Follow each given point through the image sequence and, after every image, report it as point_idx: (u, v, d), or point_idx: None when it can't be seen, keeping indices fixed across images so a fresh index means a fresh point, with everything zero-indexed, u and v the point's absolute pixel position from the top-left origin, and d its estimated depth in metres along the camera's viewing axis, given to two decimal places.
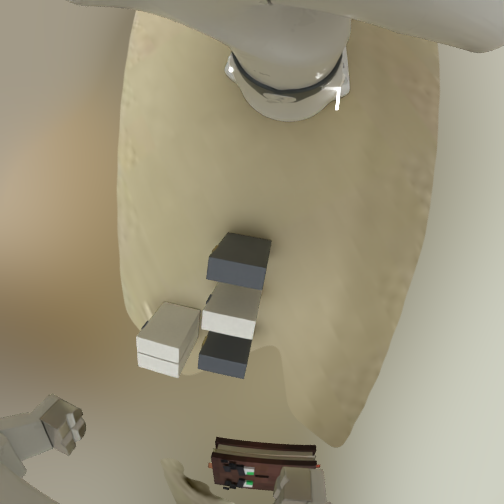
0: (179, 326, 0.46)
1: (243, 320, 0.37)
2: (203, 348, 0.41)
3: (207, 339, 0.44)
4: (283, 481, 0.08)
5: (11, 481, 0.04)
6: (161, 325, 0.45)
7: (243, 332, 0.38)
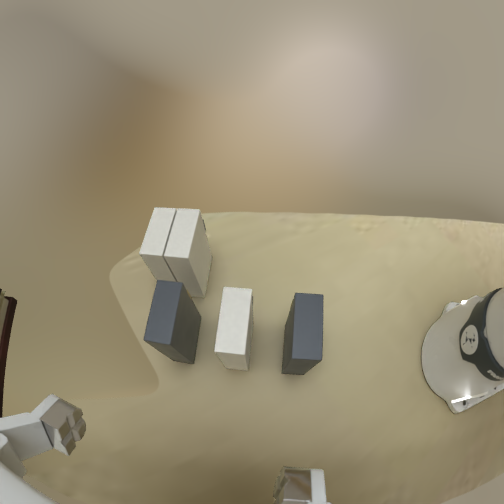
0: (199, 266, 0.38)
1: (243, 339, 0.28)
2: (185, 290, 0.32)
3: (189, 298, 0.34)
4: (283, 481, 0.08)
5: (11, 481, 0.04)
6: (202, 245, 0.39)
7: (225, 339, 0.28)
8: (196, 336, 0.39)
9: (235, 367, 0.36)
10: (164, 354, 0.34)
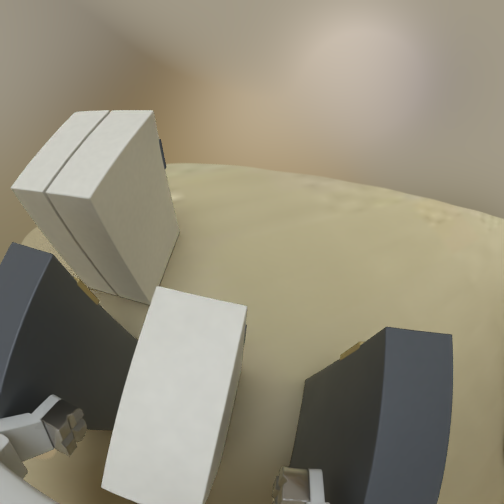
0: (137, 237, 0.17)
1: (198, 476, 0.06)
2: (66, 278, 0.11)
3: (89, 302, 0.13)
4: (282, 481, 0.08)
5: (11, 481, 0.04)
6: (150, 192, 0.17)
7: (135, 465, 0.06)
8: (122, 380, 0.17)
9: None
10: None
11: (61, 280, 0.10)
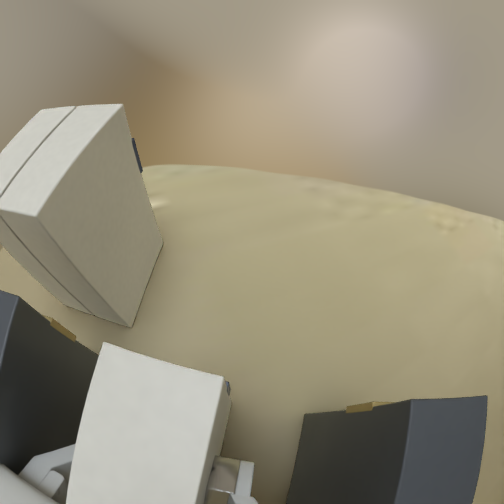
0: (106, 255, 0.14)
1: None
2: (38, 321, 0.08)
3: (66, 341, 0.10)
4: (211, 470, 0.08)
5: (11, 481, 0.04)
6: (122, 201, 0.14)
7: None
8: None
9: None
10: None
11: (32, 326, 0.07)
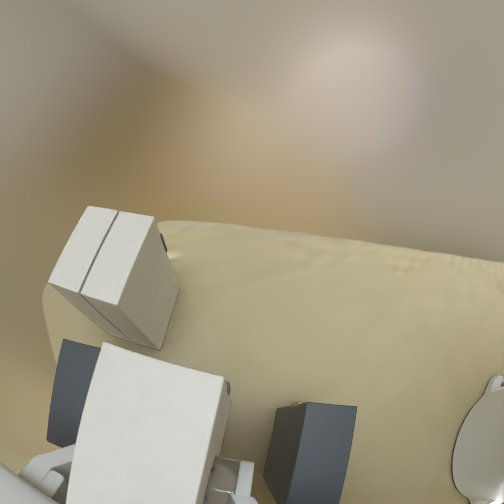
0: (148, 310, 0.22)
1: None
2: None
3: None
4: (211, 470, 0.08)
5: (11, 481, 0.04)
6: (156, 275, 0.23)
7: None
8: None
9: None
10: None
11: None
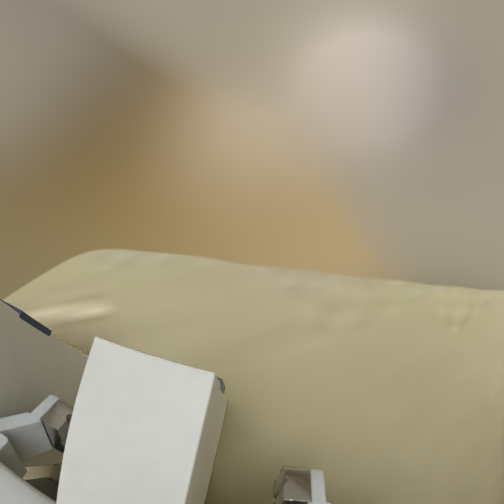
0: None
1: None
2: None
3: None
4: (283, 481, 0.08)
5: (11, 481, 0.04)
6: (33, 382, 0.09)
7: None
8: None
9: None
10: None
11: None
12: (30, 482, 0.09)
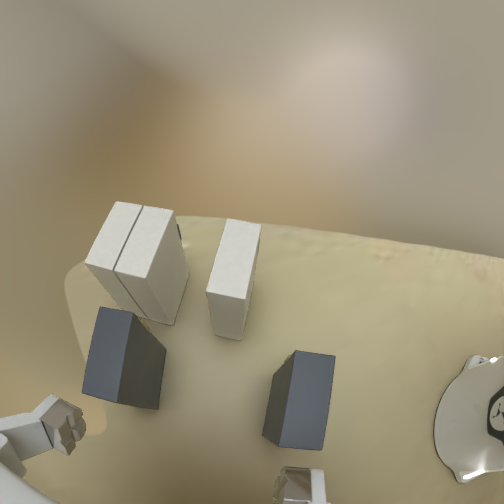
0: (166, 288, 0.28)
1: (245, 279, 0.22)
2: (138, 322, 0.21)
3: (146, 331, 0.23)
4: (283, 481, 0.08)
5: (11, 481, 0.04)
6: (173, 258, 0.28)
7: (221, 278, 0.22)
8: (159, 375, 0.28)
9: (227, 332, 0.30)
10: None
11: (136, 323, 0.21)
12: None
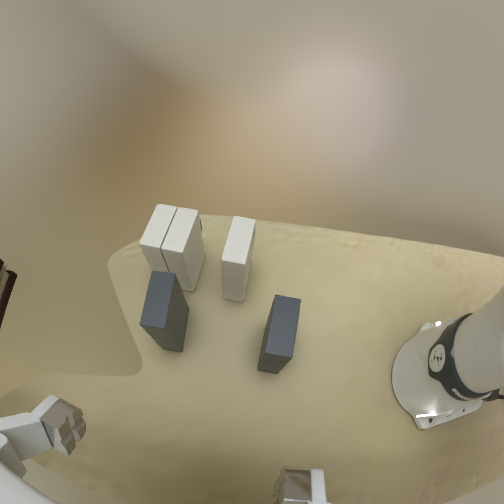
0: (192, 262, 0.42)
1: (245, 253, 0.36)
2: (177, 280, 0.36)
3: (180, 289, 0.38)
4: (283, 481, 0.08)
5: (11, 481, 0.04)
6: (196, 243, 0.42)
7: (230, 252, 0.36)
8: (184, 326, 0.42)
9: (232, 294, 0.44)
10: (156, 341, 0.37)
11: (176, 281, 0.35)
12: None
